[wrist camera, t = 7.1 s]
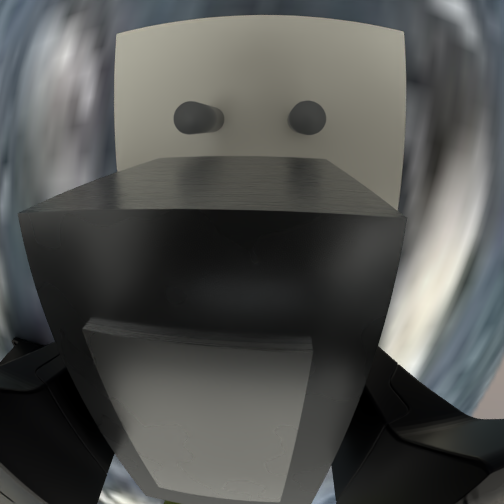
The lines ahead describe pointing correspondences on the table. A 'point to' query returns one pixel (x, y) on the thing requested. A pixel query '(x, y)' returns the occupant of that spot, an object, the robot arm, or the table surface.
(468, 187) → the table surface
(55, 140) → the table surface
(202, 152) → the peg board
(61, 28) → the table surface
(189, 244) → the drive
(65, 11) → the table surface
